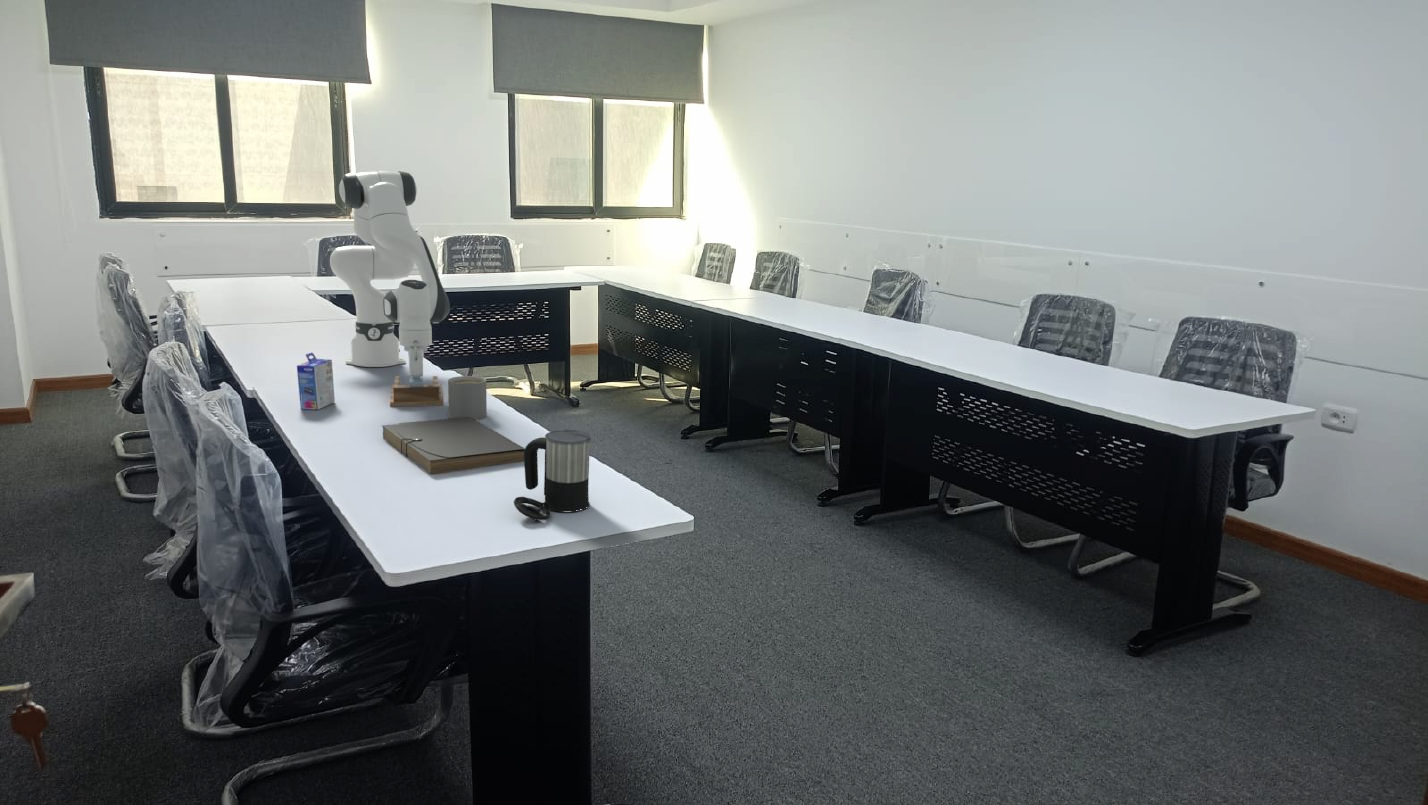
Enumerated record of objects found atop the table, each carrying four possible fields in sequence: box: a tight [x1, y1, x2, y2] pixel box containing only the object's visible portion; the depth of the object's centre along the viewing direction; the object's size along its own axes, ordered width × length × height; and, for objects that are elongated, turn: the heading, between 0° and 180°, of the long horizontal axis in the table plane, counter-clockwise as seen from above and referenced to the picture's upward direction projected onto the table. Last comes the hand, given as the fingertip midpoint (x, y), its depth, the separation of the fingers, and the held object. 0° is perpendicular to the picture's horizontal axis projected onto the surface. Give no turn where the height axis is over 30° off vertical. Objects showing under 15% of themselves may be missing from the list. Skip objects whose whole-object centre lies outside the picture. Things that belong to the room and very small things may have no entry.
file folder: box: [381, 417, 526, 475], centre depth 230 cm, size 33×4×24 cm
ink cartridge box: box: [296, 352, 336, 411], centre depth 262 cm, size 10×6×14 cm, turn 174°
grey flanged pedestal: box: [408, 377, 424, 387], centre depth 271 cm, size 6×8×5 cm
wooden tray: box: [389, 375, 444, 407], centre depth 278 cm, size 22×14×5 cm, turn 17°
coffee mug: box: [447, 375, 488, 421], centre depth 261 cm, size 13×10×10 cm
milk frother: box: [513, 429, 592, 521], centre depth 190 cm, size 14×16×15 cm
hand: (416, 386), depth 275 cm, fingers closed
